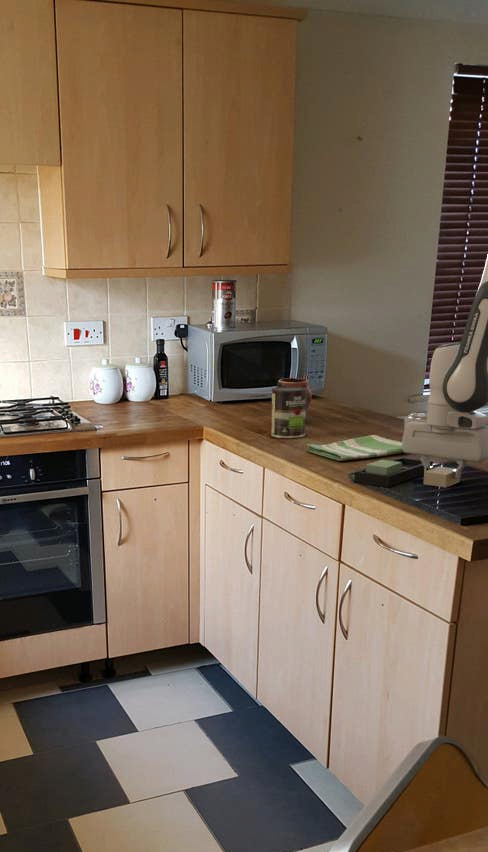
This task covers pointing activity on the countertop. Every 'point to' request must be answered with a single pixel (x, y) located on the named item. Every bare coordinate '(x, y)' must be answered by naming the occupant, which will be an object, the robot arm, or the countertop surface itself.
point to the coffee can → (288, 412)
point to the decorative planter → (297, 383)
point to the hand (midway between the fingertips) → (442, 476)
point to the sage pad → (384, 467)
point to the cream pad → (440, 477)
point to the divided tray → (409, 471)
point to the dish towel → (358, 448)
